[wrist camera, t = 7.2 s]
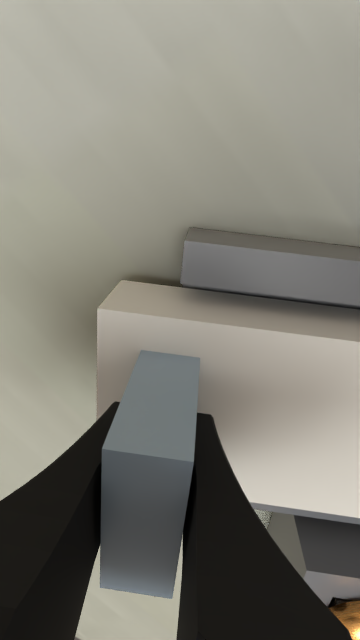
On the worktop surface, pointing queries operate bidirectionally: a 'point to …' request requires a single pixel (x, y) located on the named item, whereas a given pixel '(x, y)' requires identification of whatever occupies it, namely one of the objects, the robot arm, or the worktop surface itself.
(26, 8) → the worktop surface
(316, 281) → the housing
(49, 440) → the worktop surface
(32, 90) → the worktop surface
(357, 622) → the orange round piece
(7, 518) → the robot arm
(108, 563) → the white blue stepped block
